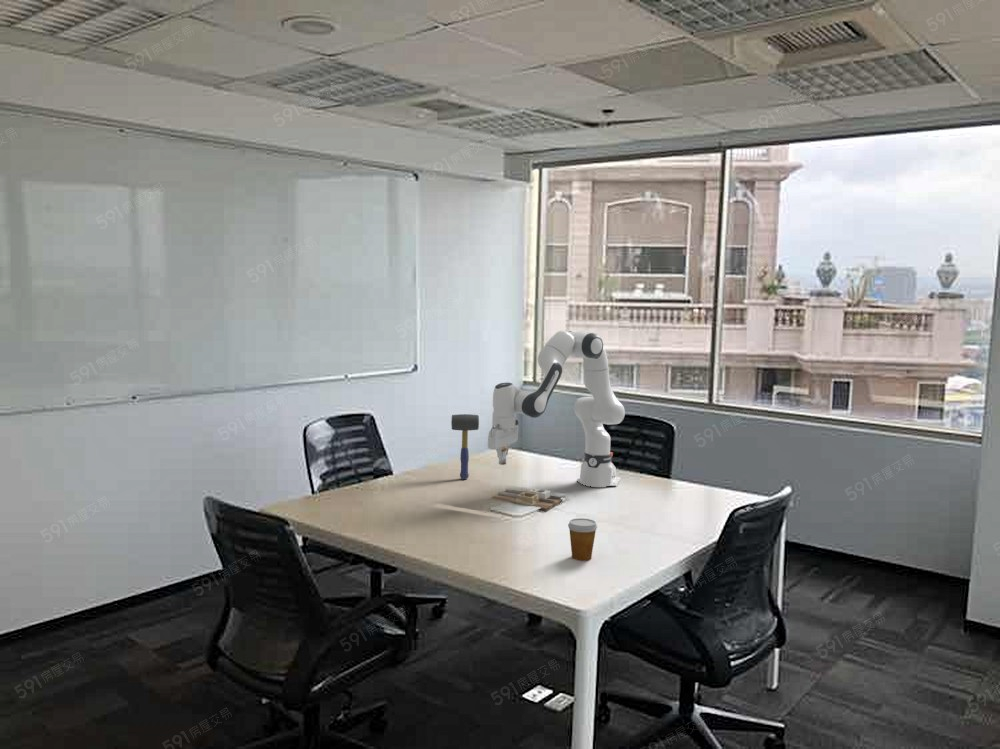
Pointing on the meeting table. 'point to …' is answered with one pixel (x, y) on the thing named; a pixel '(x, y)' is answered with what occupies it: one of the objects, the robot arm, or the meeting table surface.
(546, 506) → the board
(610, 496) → the meeting table surface
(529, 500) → the socket
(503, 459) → the grey and tan cylinder
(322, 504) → the meeting table surface
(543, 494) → the block
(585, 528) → the disposable coffee cup
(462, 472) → the rubber mallet
